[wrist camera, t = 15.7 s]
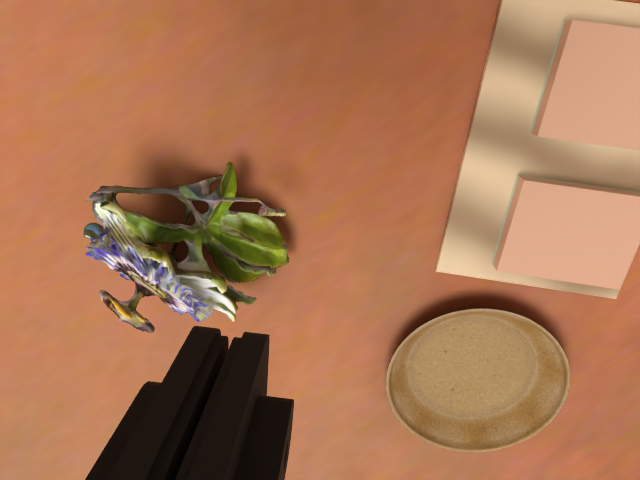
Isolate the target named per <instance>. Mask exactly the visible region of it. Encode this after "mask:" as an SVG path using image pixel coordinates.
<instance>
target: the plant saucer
mask: <svg viewBox="0 0 640 480" xmlns="http://www.w3.org/2000/svg"><path fill="white" fill-rule="evenodd" d="M569 386H570V368H569V363H568V360H567V357H566V355H565V353H564V351H563V349H562V347H561V346H560V344H559V343H558V341H557V340H556V339H555V338H554V337H553V336H552V335H551V334H550V333H549V332H548V331H547V330H545V329H544V328H543V327H542V326H540V325H539V324H537V323H535V322H534V321H532V320H530V319H528V318H526V317H524V316H521V315H518V314H515V313H512V312H508V311H503V310H497V309H467V310H460V311H455V312H451V313H448V314H445V315H442V316H439V317H437V318H435V319H432V320H430V321H429V322H427V323H425V324H423V325H422V326H420V327H418V328H417V329H416V330H415V331H413V332H412V333H411V334H410V335H409V336H408V337H407V338H406V339H405V340H404V341H403V342H402V343H401V344H400V345H399V347H398V348H397V350H396V351H395V353H394V355H393V357H392V359H391V361H390V364H389V366H388V370H387V375H386V391H387V397H388V401H389V404H390V406H391V408H392V410H393V412H394V414H395V415H396V417H397V418H398V420H399V421H400V422H401V423H402V424H403V425H404V426H405V427H406V428H407V429H408V430H409V431H410V432H411V433H413V434H414V435H416V436H417V437H419V438H421V439H422V440H425V441H426V442H429V443H431V444H433V445H436V446H439V447H442V448H445V449H449V450H455V451H462V452H486V451H494V450H499V449H503V448H507V447H509V446H512V445H515V444H518V443H521V442H523V441H525V440H527V439H529V438H531V437H532V436H534V435H535V434H537V433H538V432H540V431H541V430H542V429H544V428H545V427H546V426H547V425H548V424H549V423H550V422H551V421H552V420H553V419H554V418H555V417H556V415H557V414H558V413H559V411H560V409H561V408H562V406H563V405H564V402H565V400H566V397H567V394H568V391H569Z"/></svg>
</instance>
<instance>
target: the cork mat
mask: <svg viewBox="0 0 640 480" xmlns="http://www.w3.org/2000/svg"><path fill="white" fill-rule="evenodd" d="M569 20H577V21H585V22H593V23H601V24H609V25H617V26H625V27H633V28H640V4H639V3H631V2H623V1H614V0H500V4H499V8H498V12H497V16H496V20H495V24H494V29H493V33H492V37H491V41H490V45H489V49H488V53H487V57H486V61H485V66H484V70H483V74H482V78H481V82H480V86H479V90H478V94H477V98H476V103H475V107H474V111H473V115H472V119H471V123H470V127H469V131H468V135H467V140H466V144H465V148H464V152H463V156H462V160H461V164H460V168H459V172H458V177H457V181H456V185H455V189H454V193H453V197H452V201H451V205H450V209H449V214H448V218H447V222H446V226H445V230H444V234H443V238H442V242H441V246H440V251H439V255H438V259H437V263H436V267H435V269H436V272H443V273H449V274H456V275H463V276H469V277H476V278H482V279H489V280H495V281H502V282H508V283H515V284H522V285H528V286H535V287H541V288H548V289H554V290H561V291H567V292H574V293H580V294H587V295H594V296H600V297H607V298H613V299H616V298H617V295H618V293H619V291H620V290H618V289H611V288H605V287H598V286H592V285H585V284H578V283H572V282H565V281H559V280H552V279H545V278H539V277H532V276H526V275H519V274H512V273H506V272H499V271H496V269H495V267H494V266H493V264H492V259H493V255H494V252H495V248H496V245H497V242H498V238H499V235H500V231H501V228H502V225H503V221H504V218H505V214H506V211H507V208H508V204H509V201H510V197H511V194H512V191H513V187H514V184H515V180H516V177H517V175H523V176H530V177H537V178H545V179H552V180H559V181H566V182H573V183H580V184H587V185H594V186H601V187H608V188H615V189H622V190H629V191H636V192H640V151H639V150H632V149H625V148H617V147H610V146H603V145H596V144H588V143H581V142H574V141H567V140H559V139H552V138H545V137H537V136H535V135H533V134H531V133H530V130H531V126H532V123H533V119H534V116H535V113H536V109H537V106H538V102H539V99H540V96H541V92H542V89H543V85H544V82H545V79H546V75H547V72H548V68H549V65H550V62H551V58H552V55H553V51H554V48H555V45H556V41H557V38H558V34H559V31H560V28H561V24H562V22H563V21H569Z"/></svg>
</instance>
